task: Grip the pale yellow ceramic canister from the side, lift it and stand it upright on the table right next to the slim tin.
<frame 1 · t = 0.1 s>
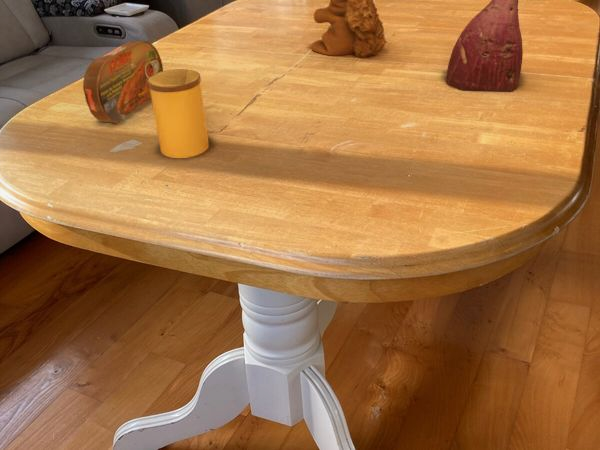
yellow canister: (185, 151, 69), on the table
tin: (131, 111, 80), on the table
stuffed squirrel: (352, 53, 98), on the table
vegetable: (481, 83, 85), on the table
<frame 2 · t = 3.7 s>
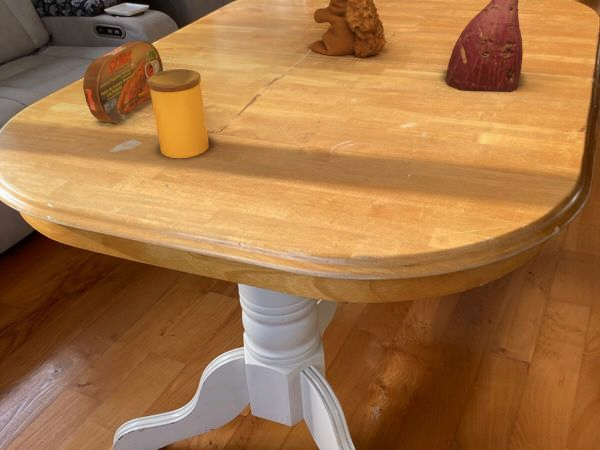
nothing on the table moved.
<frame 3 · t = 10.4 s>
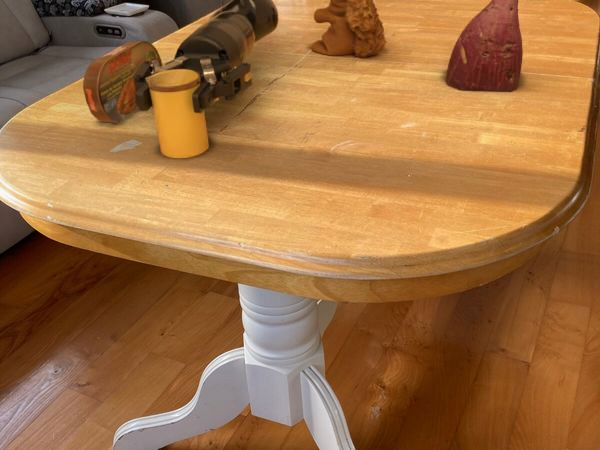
hand: (168, 103, 63), 7 cm above the table, tool horizontal, fingers closed on yellow canister, 5 cm apart
yellow canister: (185, 151, 69), on the table, touching gripper
everything else where it was.
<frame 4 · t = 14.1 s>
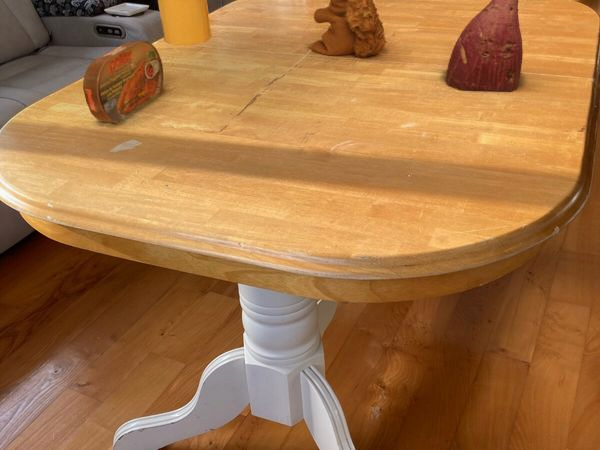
yellow canister: (188, 38, 70), point 11 cm above the table, touching gripper
everything else where it was.
when the fingers open (7 cm above the table, at t = 17.9 s): yellow canister stays where it is, on the table.
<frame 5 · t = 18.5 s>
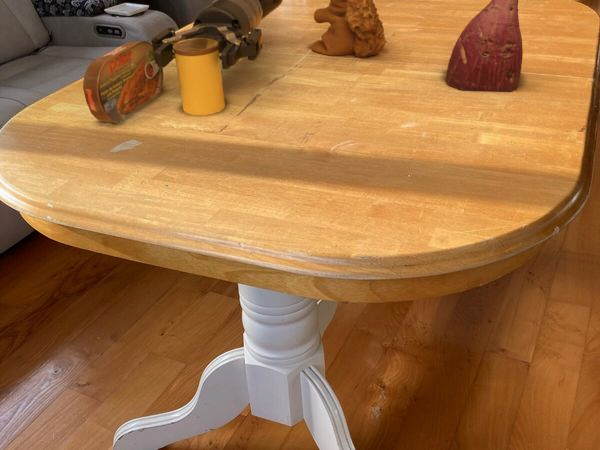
hand: (191, 60, 73), 8 cm above the table, tool horizontal, fingers open, 8 cm apart
yellow canister: (204, 111, 79), on the table
everything else where it was.
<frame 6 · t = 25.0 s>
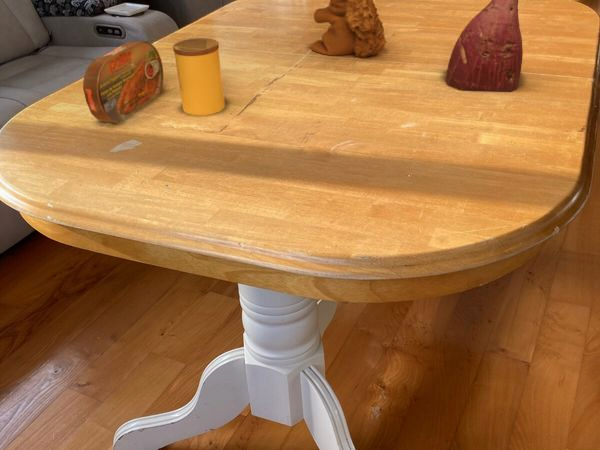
nothing on the table moved.
at the end: yellow canister inside the target area on the table beside the tin (0.4 cm from its centre), on the table; yellow canister tilted 0°; the gripper is holding nothing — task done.
